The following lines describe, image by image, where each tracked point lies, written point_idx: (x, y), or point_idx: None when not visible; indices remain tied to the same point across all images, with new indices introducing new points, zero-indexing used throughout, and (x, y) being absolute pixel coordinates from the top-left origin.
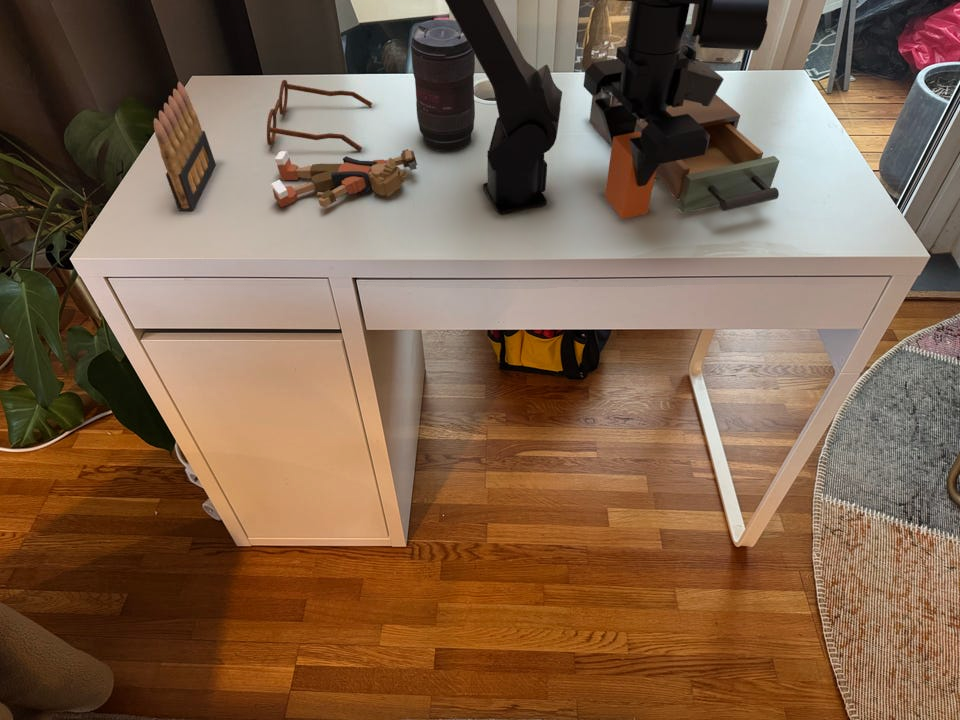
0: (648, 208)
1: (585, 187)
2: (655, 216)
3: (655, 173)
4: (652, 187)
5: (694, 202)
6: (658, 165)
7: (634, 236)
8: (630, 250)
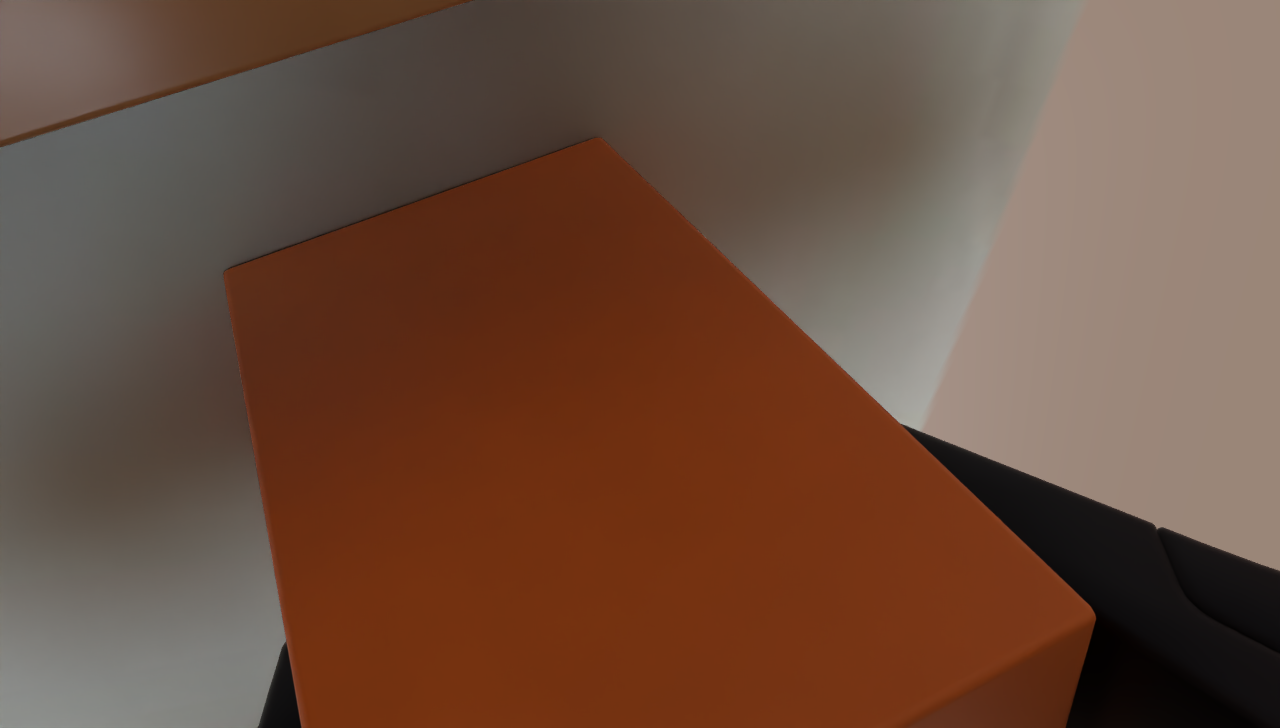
0: (619, 157)
1: (180, 605)
2: (650, 69)
3: (851, 377)
4: (743, 275)
5: None
6: (1132, 519)
7: (834, 265)
8: (939, 296)
